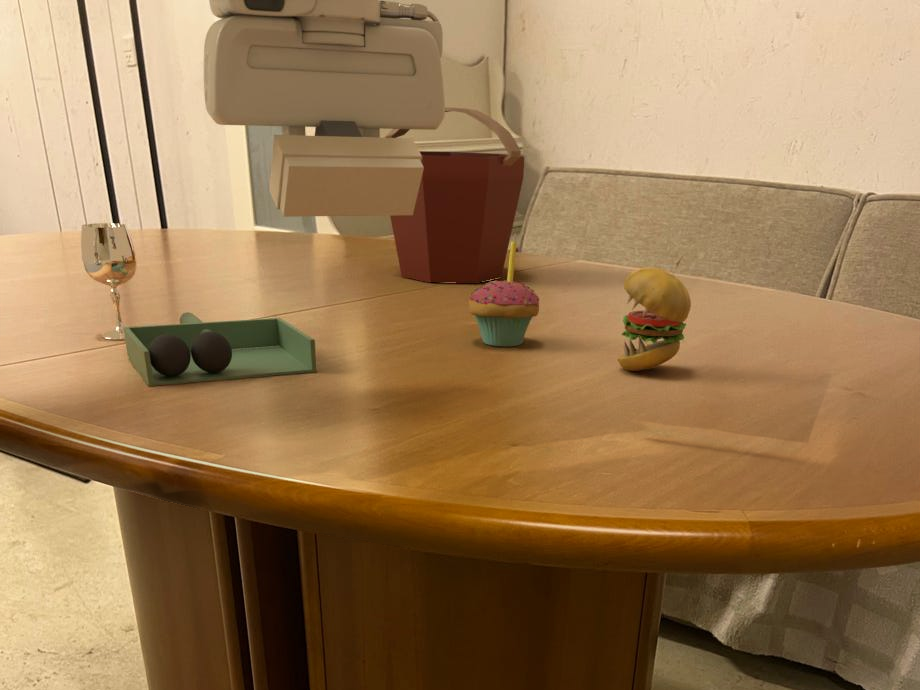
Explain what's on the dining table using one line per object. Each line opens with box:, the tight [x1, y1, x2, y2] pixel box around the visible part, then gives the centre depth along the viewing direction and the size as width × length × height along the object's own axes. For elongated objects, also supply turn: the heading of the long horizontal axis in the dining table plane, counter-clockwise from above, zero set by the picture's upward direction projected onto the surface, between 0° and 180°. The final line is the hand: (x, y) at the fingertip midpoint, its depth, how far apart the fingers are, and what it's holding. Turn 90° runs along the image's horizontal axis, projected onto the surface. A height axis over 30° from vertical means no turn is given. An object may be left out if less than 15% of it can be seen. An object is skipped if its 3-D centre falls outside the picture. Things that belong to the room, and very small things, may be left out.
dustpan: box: [123, 311, 318, 387], centre depth 101 cm, size 22×17×3 cm
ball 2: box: [190, 332, 232, 373], centre depth 93 cm, size 4×4×4 cm
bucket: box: [384, 106, 525, 283], centre depth 152 cm, size 24×22×25 cm
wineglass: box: [80, 222, 137, 341], centre depth 106 cm, size 6×6×12 cm
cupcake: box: [468, 233, 540, 348], centre depth 109 cm, size 9×8×12 cm
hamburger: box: [617, 254, 692, 372], centre depth 98 cm, size 8×7×12 cm
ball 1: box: [148, 334, 191, 376], centre depth 92 cm, size 4×4×4 cm
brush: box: [269, 120, 424, 218], centre depth 78 cm, size 5×12×7 cm
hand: (333, 188), depth 81 cm, fingers closed on brush, 3 cm apart
